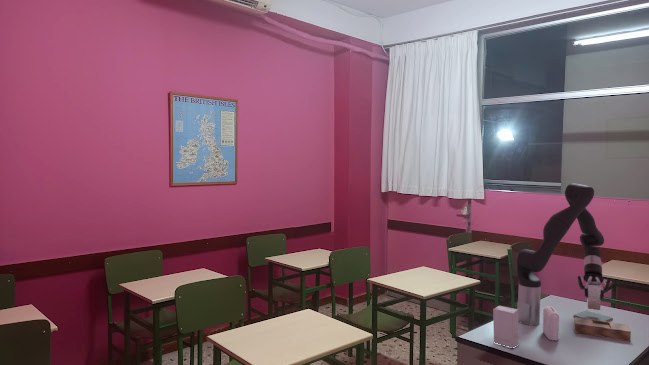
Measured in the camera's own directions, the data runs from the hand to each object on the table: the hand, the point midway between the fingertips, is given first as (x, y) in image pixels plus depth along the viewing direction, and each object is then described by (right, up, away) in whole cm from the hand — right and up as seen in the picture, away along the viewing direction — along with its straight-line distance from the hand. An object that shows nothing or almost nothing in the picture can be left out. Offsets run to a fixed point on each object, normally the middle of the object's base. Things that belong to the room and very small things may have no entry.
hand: (594, 297), depth 211 cm
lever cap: (+1, -5, +2) cm, 5 cm away
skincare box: (-53, -12, -29) cm, 62 cm away
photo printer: (-30, -11, -20) cm, 38 cm away
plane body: (-7, -11, -16) cm, 21 cm away
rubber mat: (+1, -10, +2) cm, 10 cm away
